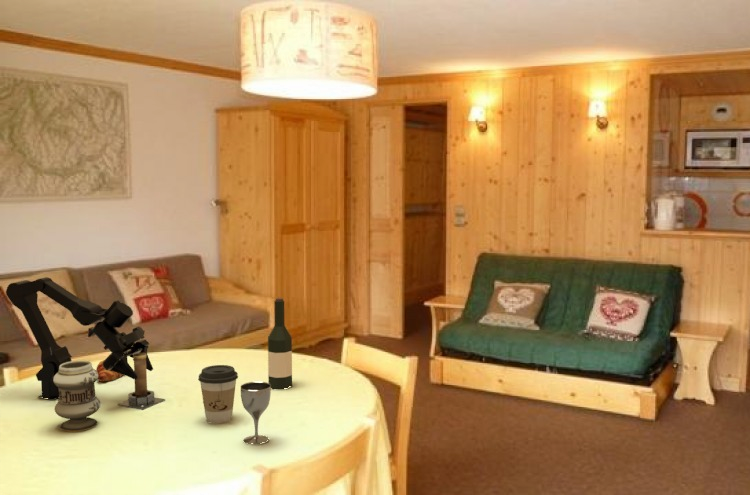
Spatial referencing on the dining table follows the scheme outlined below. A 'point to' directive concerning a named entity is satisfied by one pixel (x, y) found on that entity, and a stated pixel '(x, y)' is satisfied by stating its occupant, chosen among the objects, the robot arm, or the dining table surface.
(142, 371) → the tall ribbed vase
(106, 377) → the croissant
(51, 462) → the dining table surface
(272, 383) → the wine bottle
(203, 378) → the coffee cup
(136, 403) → the cup bracket
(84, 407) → the apothecary jar
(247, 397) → the wine glass
